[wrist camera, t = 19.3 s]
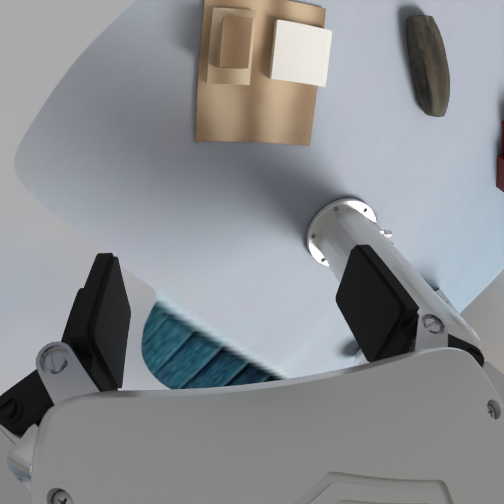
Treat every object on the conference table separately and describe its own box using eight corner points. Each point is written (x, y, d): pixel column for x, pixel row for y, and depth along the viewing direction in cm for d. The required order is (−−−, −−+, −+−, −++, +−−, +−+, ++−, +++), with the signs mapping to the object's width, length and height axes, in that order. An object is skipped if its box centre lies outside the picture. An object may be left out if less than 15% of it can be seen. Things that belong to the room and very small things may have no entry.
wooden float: (254, 12, 25) (264, 3, 21) (248, 84, 31) (256, 86, 27) (212, 9, 24) (215, -1, 20) (206, 83, 30) (208, 84, 26)
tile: (320, 86, 32) (327, 32, 27) (325, 87, 31) (332, 31, 26) (268, 78, 31) (274, 21, 26) (271, 78, 29) (277, 19, 25)
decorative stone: (399, 13, 26) (416, 11, 23) (428, 17, 26) (445, 17, 23) (413, 114, 36) (430, 120, 33) (439, 112, 36) (456, 118, 33)
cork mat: (323, 9, 26) (325, 8, 25) (307, 144, 37) (309, 145, 37) (205, -7, 23) (205, -8, 22) (195, 140, 34) (195, 141, 34)
